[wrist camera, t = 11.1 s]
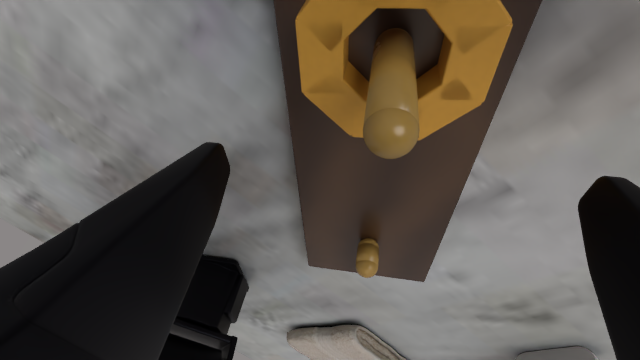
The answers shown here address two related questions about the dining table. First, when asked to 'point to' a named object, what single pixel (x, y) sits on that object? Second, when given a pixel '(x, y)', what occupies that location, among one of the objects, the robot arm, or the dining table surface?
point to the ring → (432, 87)
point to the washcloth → (340, 344)
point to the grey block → (559, 354)
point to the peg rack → (386, 146)
